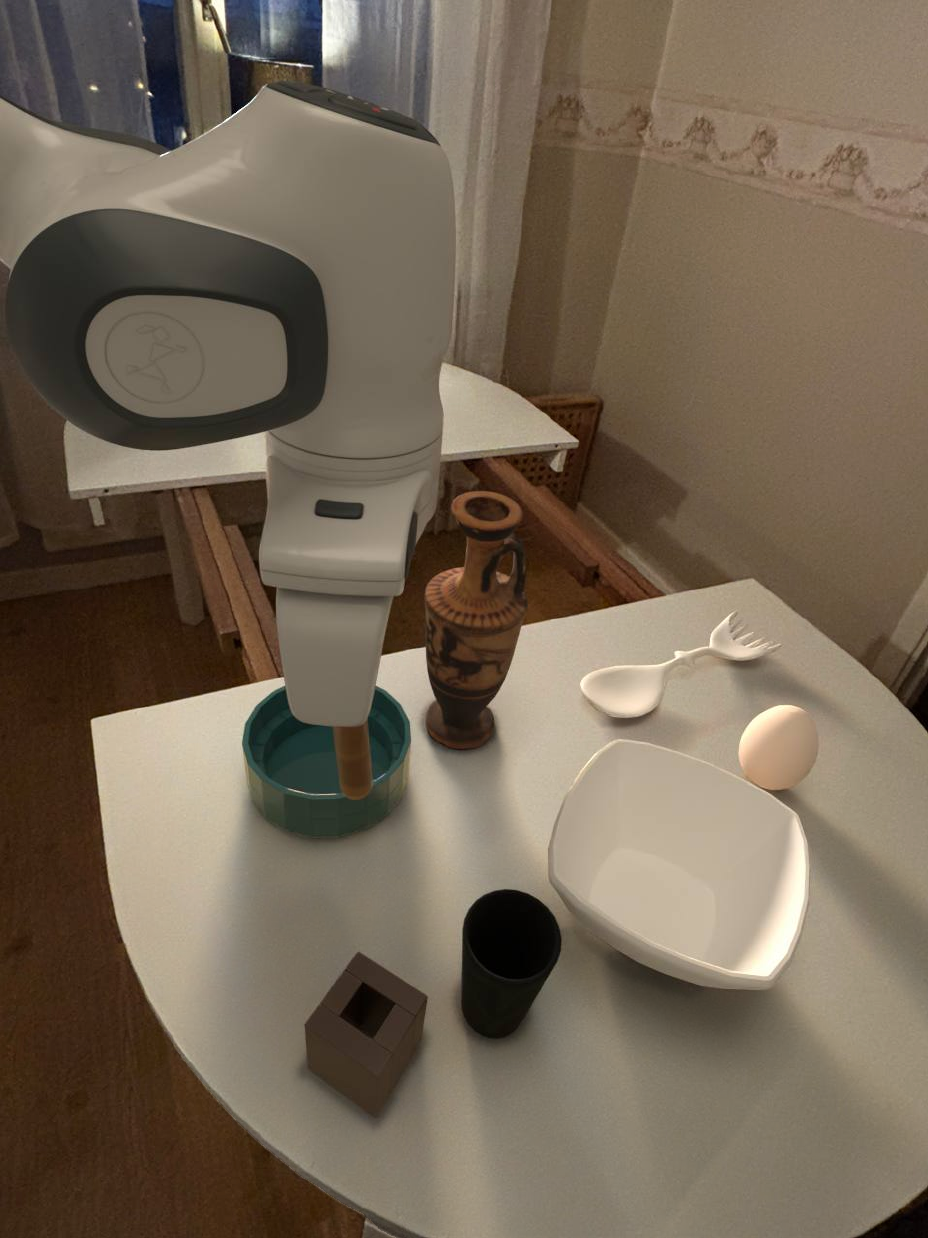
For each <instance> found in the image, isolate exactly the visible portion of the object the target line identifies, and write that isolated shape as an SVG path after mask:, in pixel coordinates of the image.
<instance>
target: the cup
mask: <svg viewBox="0 0 928 1238" xmlns="http://www.w3.org/2000/svg"><path fill="white" fill-rule="evenodd" d="M562 943H563V939H562V933H561V927H560V925H559V923H558V921H557V919H556V916H555V915H554V913H553V912H552V911H551V909H550V908H549V907H548V906H547V905H546V904H545V903H543V902H542V901H541V900H540V899H539V898H537V897H535V896H533V895H532V894H530V893H528V892H525V891H521V890H519V889H511V888H509V889H508V888H504V889H496V890H492V891H490V892H487V893H485V894H483V895H482V896H480V897H479V898H477V899H476V900H475V901H474V902H473V903H472V904H471V906H470V907H469V908H468V910H467V912H466V914H465V916H464V918H463V925H462V930H461V980H460V981H461V983H460V984H461V986H460V987H461V991H460V993H461V994H460V995H461V996H460V1005H461V1006H460V1007H461V1013H462V1015H463V1018H464V1020H465V1022H466V1023H467V1026H469V1027H470V1029H472V1030H473V1031H474V1033H477V1035H480V1037H484V1038H487V1039H493V1040H498V1039H505V1038H507V1037H509V1036H511V1035H512V1034H514V1033H515V1032H516V1031H517V1030H518V1029H519V1027H520V1026H521V1024H522V1023H523V1021H524V1020H525V1018H526V1017H527V1015H528V1013H529V1011H530V1009H531V1007H532V1006H533V1004H534V1003H535V1001H536V999H537V997H539V994H540V992H541V991H542V989H543V987H544V985H545V984H546V982H547V980H549V979H548V978H549V977H550V975H551V974H552V973H553V970H554V968H555V967H556V965H557V963H558V962H559V958H560V955H561V952H562V945H563V944H562Z"/></svg>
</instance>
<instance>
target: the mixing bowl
mask: <svg viewBox="0 0 928 1238" xmlns="http://www.w3.org/2000/svg"><path fill="white" fill-rule="evenodd" d="M368 729H369V741H370V754H371V767H372V779H373V785H372V789H371V791H370V793H369V794H368V795H367V796H366V797H364V798H362V799H359V800H352V799H349V798H347V797H346V796H345V795H344V794H343V793H342V791H341V789H340V784H339V776H338V767H337V759H336V751H335V743H334V735H333V727H332V726H321V725H313V724H307V723H304V722H301V721H299V720H298V719H297V718H296V717H295V716H294V715H293V714H292V712H291V710H290V707H289V703H288V698H287V692H286V686H285V685H283V686H280V687H279V688H276V689H274V690H273V691H271V692H270V693H269V694H268V695H267V696H266V697H264V698H263V699H262V700H261V701H260V702H258V703H257V704H256V705H255V706H254V708H253V709H252V711H251V713H250V714H249V716H248V718H247V719H246V721H245V723H244V727H243V734H242V739H241V740H242V741H241V747H242V755H243V756H242V757H243V762H244V771H245V778H246V779H245V780H246V784H247V788H248V791H249V795H250V800H251V802H252V803H253V804H254V806H255V807H256V808H257V810H258V811H259V812H260V813H261V814H262V816H263V817H264V818H265V819H266V820H267V821H269V822H271V823H272V824H274V825H276V826H278V827H279V828H281V829H283V830H284V831H285V832H288V833H292V834H296V835H300V836H304V837H307V838H313V839H315V838H339V837H341V838H342V837H343V836H344V837H345V836H347V835H350V834H353V833H357V832H360V831H363V830H366V829H368V828H370V827H371V826H372V825H374V824H376V823H377V822H378V821H380V820H382V819H383V818H385V817H386V816H388V814H389V813H390V812H391V811H392V810H393V809H394V807H395V806H396V805H397V804H398V802H399V801H400V800H401V799H402V797H403V794H404V791H405V788H406V785H407V782H408V779H409V771H410V759H411V747H412V735H411V734H412V731H411V721H410V720H409V718H408V715H407V713H406V711H405V710H404V707H403V706H402V703H400V702H399V701H398V700H396V698H395V697H394V696H393V695H392V694H390V693H389V692H388V691H387V690H386V689H385V688H382V687H380V686H378V685H376V686H375V692H374V697H373V701H372V706H371V710H370V713H369V716H368Z"/></svg>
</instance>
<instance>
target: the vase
mask: <svg viewBox="0 0 928 1238" xmlns="http://www.w3.org/2000/svg"><path fill="white" fill-rule="evenodd" d="M450 510H451V515H452V517H453V519H454V520H453V521H454V522H455V523H456V526H457V528H458V530H459V531H460V532H461V534H462V535H464V536H465V537H466V549H465V559H464V565H463V566H462V567H453V568H451V569H447V570H444V571H442V572H440V573H438V574H436V575H435V576H434V577H432V578H431V579H430V581H428V583H427V585H426V587H425V590H424V605H425V662H426V671H427V675H428V681H429V684H430V687H431V690H432V694H433V695H434V697H435V700H434V701H433V702H432V703H431V704H430V705H429V707H428V709H427V711H426V713H425V717H424V718H425V719H424V722H425V727H426V730H427V732H428V733H429V735H430V736H431V737H432V738H433V740H435V741H437V742H438V743H441V744H443V745H444V746H445V747H448V748H449V749H451V748H452V749H456V750H470V749H475V748H478V747H480V746H482V745H483V744H485V743H486V742H487V741H488V740H489V739H490V738H491V737H492V736H493V734H494V730H495V725H496V724H495V716H494V713H493V711H492V709H491V708H490V707H488V706H489V704H491V702H492V701H493V700H494V699H495V698H496V696H497V694H498V693H499V692H500V690H501V688H502V686H503V684H504V682H505V680H506V678H507V676H508V673H509V671H510V668H511V665H512V663H513V659H514V656H515V653H516V648H517V644H518V640H519V637H520V633H521V630H522V625H523V622H524V619H525V617H526V612H527V610H528V607H529V606H528V604H529V603H528V600H529V599H528V596H527V594H526V590H525V588H526V577H527V557H526V552H525V548H524V544H523V542H522V539H521V537H519V535H517V533H514V531H515V530H516V529H517V528H518V526H519V525H520V523H521V521H522V519H523V518H524V512H523V509H522V507H521V505H520V504H519V503H517V502H516V501H515V500H513V498H511V497H509V496H506V495H504V494H502V493H499V492H494V491H485V490H475V491H468V492H465V493H462V494H459V495H458V496H457V497H456V498H455V499H453V500H452V504H451V505H450ZM509 552H513V557H512V559H513V560H512V569H511V573H510V575H509V576H508V575H507V574H505V573H502V572H500V571H498V569H499V566H500V564H501V562H502V559H503V558H504V557H505V556H506V555H507V554H508V553H509Z"/></svg>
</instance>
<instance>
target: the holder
mask: <svg viewBox="0 0 928 1238" xmlns="http://www.w3.org/2000/svg"><path fill="white" fill-rule="evenodd" d="M428 1000H429V996H428V995H427V994H426V993H424V992H422V990H420V989H418V988H416V987H415V986H413V985H412V984H410V983H409V982H407V981H405V979H402V978H401V977H399V976H398V975H397V974H394V973H393V972H392V971H390V970H389V969H387V968H385V967H384V966H382V965H381V964H380V963H378V962H376V961H375V960H373V959H372V958H370V957H368V956H367V955H365V954H364V953H362V952H360V950H358V951H356V953H355V954H354V955H353V956H352V958H351V960H350V961H349V963H348V964H347V965H346V967H345V968H344V970H342V972H341V973H340V975H339V976H338V977H337V979H336V980H335V982H334V983H333V984H332V986H331V987H330V988H329V989H328V991H327V992H326V994H325V995H324V997H323V998H322V1000H321V1001H320V1002H319V1003H318V1005H317V1006H316V1008H315V1009H314V1011H313V1012H312V1013H311V1015H310V1016H309V1017H308V1018H307V1020H306V1021H305V1023H304V1040H305V1051H306V1064H307V1066H306V1067H307V1070H308V1071H310V1072H312V1073H313V1074H315V1076H317V1077H318V1078H320V1079H321V1080H323V1081H324V1082H325V1083H327V1084H328V1085H329V1086H330V1087H332V1088H334V1089H335V1090H336V1091H337V1092H339V1093H340V1094H342V1095H343V1096H344V1097H345V1098H347V1099H349V1100H350V1101H351V1102H352V1103H354V1104H355V1105H357V1106H358V1107H359V1108H360V1109H362V1110H363V1111H365V1112H366V1113H368V1115H370V1116H372V1117H373V1118H374V1119H377V1117H378V1115H379V1114H380V1112H381V1110H382V1109H383V1107H384V1105H386V1102H387V1101H388V1099H389V1097H390V1095H391V1094H392V1092H393V1090H394V1088H395V1087H396V1085H397V1083H398V1082H399V1080H400V1078H401V1076H402V1074H404V1071H405V1070H406V1068H407V1066H408V1065H409V1063H410V1061H411V1059H412V1058H413V1057H414V1055H415V1052H416V1051H417V1049H418V1048H419V1046H420V1044H421V1043H422V1039H423V1033H424V1026H425V1020H426V1014H427V1013H426V1012H427V1008H428V1007H427V1005H428ZM362 1028H363V1029H364V1030H365V1031H367V1032H369V1033H370V1034H371V1035H373V1036H374V1037H373V1039H372V1038H371V1037H369V1036H368V1035H366V1034H364V1033H363V1032H362V1031H360V1030H361V1029H362Z"/></svg>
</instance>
